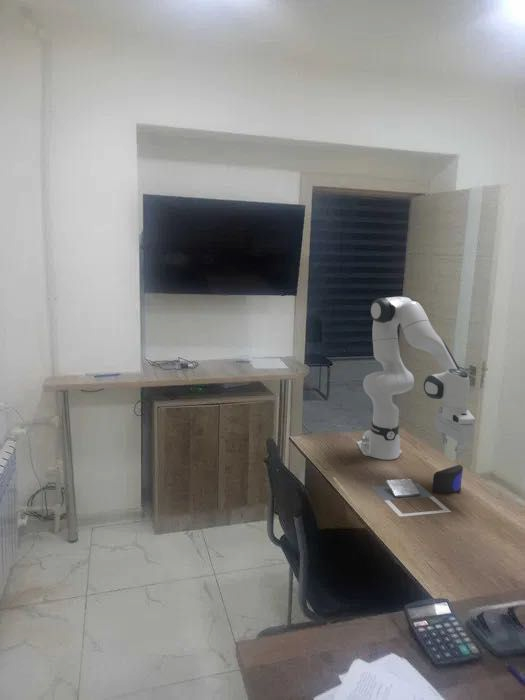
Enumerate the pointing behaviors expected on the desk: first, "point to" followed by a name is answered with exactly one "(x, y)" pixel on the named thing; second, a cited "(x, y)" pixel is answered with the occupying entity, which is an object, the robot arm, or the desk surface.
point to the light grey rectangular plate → (402, 488)
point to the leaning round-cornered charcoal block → (447, 480)
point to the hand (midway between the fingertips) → (450, 447)
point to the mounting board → (387, 496)
